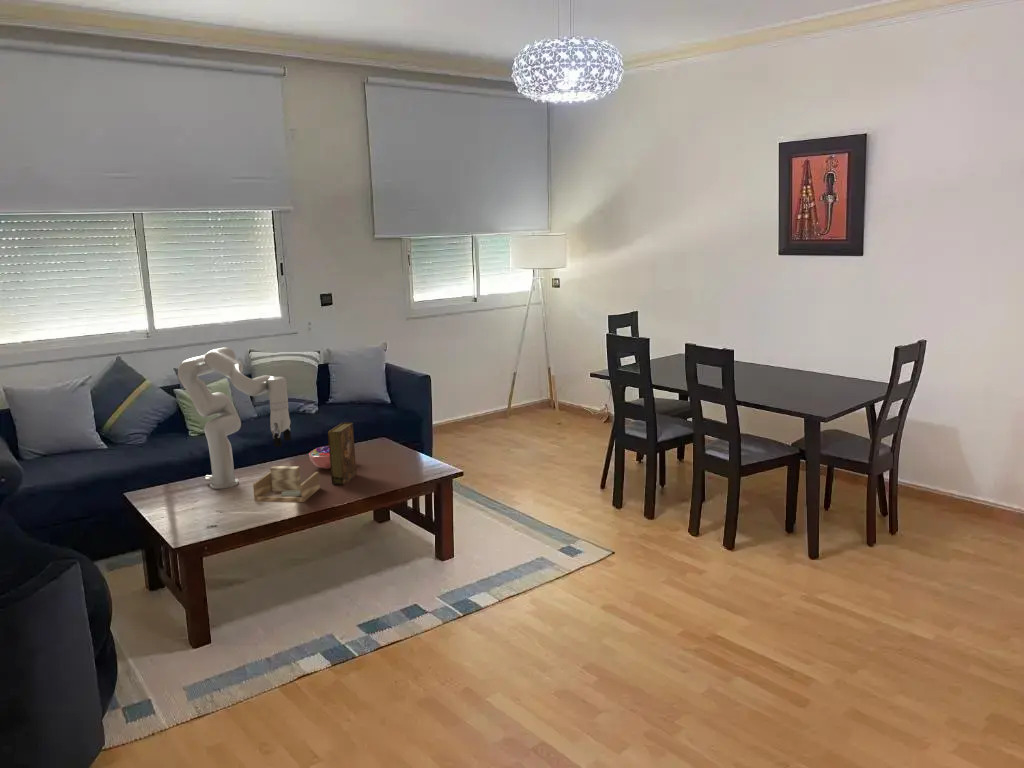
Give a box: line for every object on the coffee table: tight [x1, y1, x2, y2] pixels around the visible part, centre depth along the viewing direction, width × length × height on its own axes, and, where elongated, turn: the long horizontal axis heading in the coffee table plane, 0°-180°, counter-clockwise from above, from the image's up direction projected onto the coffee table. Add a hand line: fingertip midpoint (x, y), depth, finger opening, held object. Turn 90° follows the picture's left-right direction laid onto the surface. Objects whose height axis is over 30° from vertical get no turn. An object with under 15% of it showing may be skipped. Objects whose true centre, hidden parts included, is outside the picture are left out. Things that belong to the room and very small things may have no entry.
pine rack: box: [252, 470, 321, 503], centre depth 337 cm, size 22×17×8 cm
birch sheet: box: [270, 465, 302, 492], centre depth 342 cm, size 12×3×11 cm, turn 82°
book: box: [327, 422, 357, 486], centre depth 353 cm, size 16×6×25 cm, turn 168°
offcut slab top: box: [281, 490, 301, 497], centre depth 337 cm, size 8×4×1 cm, turn 87°
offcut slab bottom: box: [274, 491, 284, 495], centre depth 338 cm, size 12×4×1 cm, turn 82°
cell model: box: [308, 445, 331, 470], centre depth 374 cm, size 17×20×11 cm
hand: (282, 443), depth 338 cm, fingers open, 9 cm apart
